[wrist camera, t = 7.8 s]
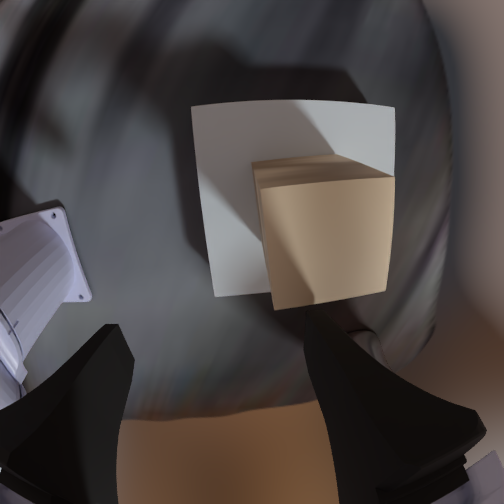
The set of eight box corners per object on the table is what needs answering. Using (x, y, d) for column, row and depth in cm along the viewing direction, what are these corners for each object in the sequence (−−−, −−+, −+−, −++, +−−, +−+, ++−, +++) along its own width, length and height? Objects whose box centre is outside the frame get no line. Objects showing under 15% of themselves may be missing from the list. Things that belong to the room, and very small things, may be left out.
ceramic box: (216, 268, 20) (215, 296, 17) (198, 110, 15) (190, 106, 12) (361, 255, 20) (380, 278, 17) (367, 108, 15) (394, 107, 12)
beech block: (261, 242, 15) (274, 310, 10) (251, 162, 13) (260, 189, 8) (339, 232, 15) (385, 290, 10) (336, 154, 13) (394, 176, 8)
